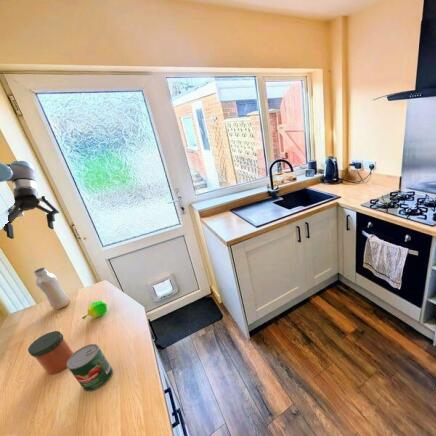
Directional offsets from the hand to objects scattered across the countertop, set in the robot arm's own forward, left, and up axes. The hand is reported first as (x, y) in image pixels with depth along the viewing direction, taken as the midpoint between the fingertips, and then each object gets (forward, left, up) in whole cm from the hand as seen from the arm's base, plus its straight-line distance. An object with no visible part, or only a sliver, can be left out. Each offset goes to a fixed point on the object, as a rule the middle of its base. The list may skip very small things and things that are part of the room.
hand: (31, 232), depth 107 cm
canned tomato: (+49, -44, -34) cm, 74 cm away
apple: (+28, -17, -34) cm, 47 cm away
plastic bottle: (+5, -9, -34) cm, 35 cm away
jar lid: (+31, -38, -23) cm, 54 cm away
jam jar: (+31, -38, -34) cm, 60 cm away
